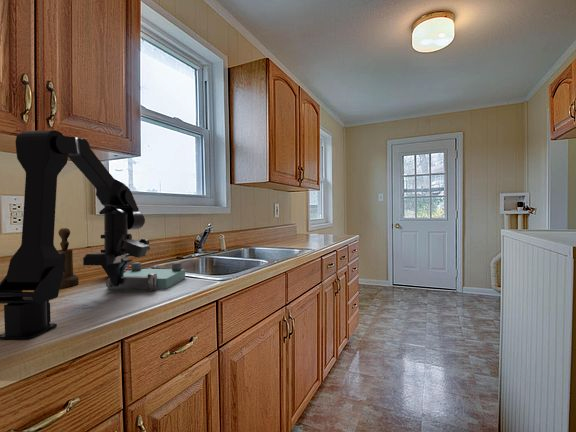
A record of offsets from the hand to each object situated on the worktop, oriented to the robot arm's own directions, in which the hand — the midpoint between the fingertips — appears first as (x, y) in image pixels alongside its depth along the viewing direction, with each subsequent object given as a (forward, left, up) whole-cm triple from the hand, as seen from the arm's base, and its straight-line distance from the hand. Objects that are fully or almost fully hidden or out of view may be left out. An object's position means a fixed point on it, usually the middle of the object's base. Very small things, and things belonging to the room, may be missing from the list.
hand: (116, 286), depth 86 cm
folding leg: (+2, -3, -2) cm, 4 cm away
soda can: (+23, +14, -2) cm, 27 cm away
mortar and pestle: (+9, +22, -2) cm, 24 cm away
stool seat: (+12, -3, -2) cm, 13 cm away
